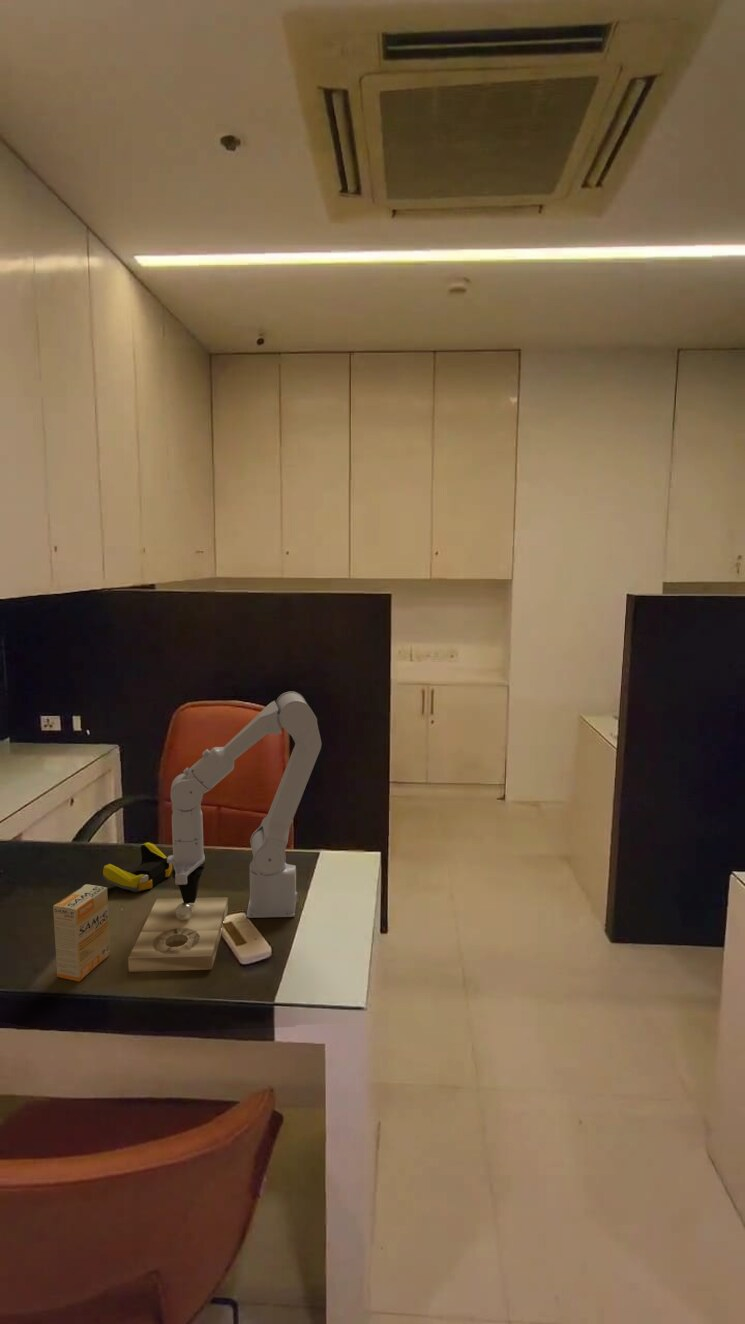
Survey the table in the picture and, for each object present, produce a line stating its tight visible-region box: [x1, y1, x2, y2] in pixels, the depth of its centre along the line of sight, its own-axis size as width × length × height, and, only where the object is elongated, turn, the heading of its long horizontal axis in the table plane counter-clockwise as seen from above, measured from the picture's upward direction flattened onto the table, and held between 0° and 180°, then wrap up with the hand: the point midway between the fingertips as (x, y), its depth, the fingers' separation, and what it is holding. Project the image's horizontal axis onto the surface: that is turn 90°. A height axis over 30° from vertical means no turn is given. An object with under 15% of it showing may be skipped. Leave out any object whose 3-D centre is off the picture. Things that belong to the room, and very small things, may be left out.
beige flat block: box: [127, 896, 229, 973], centre depth 126 cm, size 20×14×2 cm
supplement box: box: [52, 883, 111, 983], centre depth 116 cm, size 8×5×13 cm, turn 164°
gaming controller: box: [102, 842, 173, 893], centre depth 147 cm, size 15×6×10 cm
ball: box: [175, 903, 193, 921], centre depth 127 cm, size 3×3×3 cm
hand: (189, 901), depth 133 cm, fingers closed
